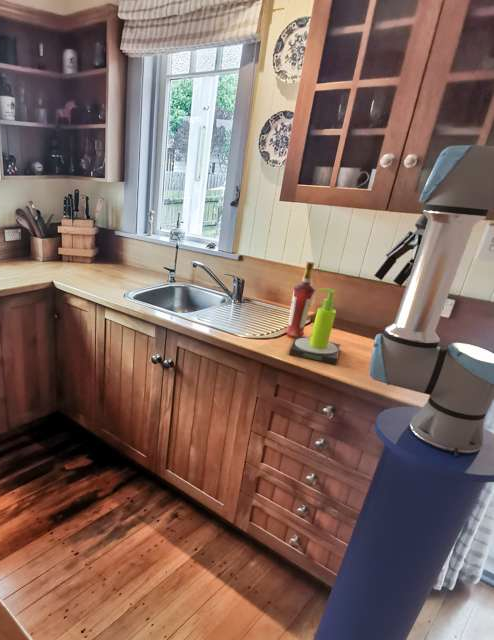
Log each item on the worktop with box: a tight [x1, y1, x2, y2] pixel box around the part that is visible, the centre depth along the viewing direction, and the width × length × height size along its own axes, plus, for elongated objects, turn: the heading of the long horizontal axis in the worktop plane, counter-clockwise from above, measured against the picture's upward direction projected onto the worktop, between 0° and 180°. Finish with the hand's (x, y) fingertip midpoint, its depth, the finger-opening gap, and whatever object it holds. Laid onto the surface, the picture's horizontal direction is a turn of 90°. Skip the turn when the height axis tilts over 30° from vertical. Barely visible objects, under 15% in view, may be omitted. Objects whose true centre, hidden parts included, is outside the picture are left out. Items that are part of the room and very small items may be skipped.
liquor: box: [284, 261, 316, 339], centre depth 172 cm, size 7×7×28 cm
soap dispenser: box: [309, 287, 338, 349], centre depth 158 cm, size 6×7×20 cm
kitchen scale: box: [288, 335, 341, 365], centre depth 163 cm, size 15×15×3 cm
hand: (386, 280), depth 147 cm, fingers open, 13 cm apart
